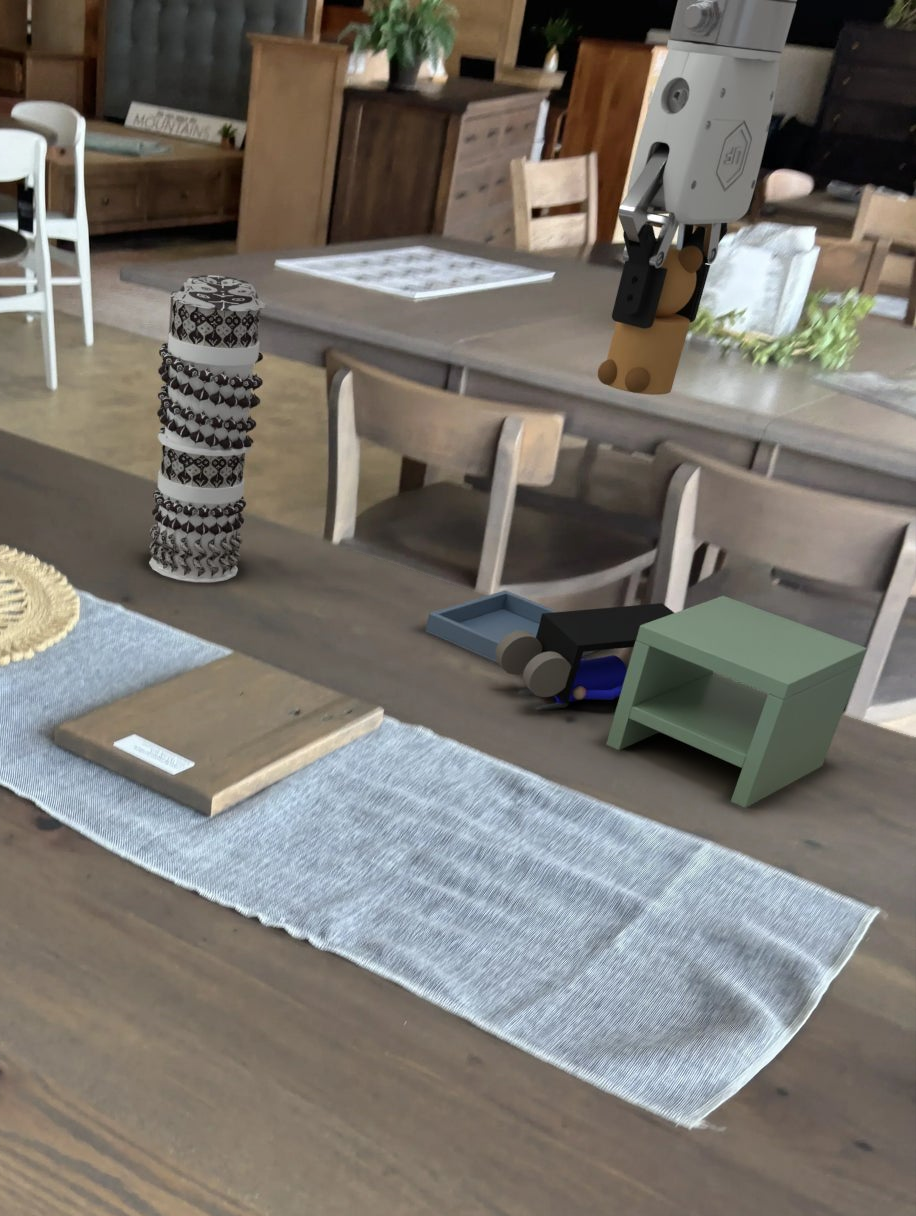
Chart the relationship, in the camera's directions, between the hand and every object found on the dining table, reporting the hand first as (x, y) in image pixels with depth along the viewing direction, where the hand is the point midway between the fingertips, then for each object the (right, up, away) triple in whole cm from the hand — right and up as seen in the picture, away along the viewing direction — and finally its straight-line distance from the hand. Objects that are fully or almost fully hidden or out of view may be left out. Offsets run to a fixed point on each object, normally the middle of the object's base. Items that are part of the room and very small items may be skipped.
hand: (653, 318), depth 105 cm
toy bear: (0, -4, +3) cm, 5 cm away
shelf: (+6, -32, +5) cm, 33 cm away
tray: (-6, -19, +21) cm, 29 cm away
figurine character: (-2, -27, +12) cm, 29 cm away
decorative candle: (-34, -11, +29) cm, 46 cm away
